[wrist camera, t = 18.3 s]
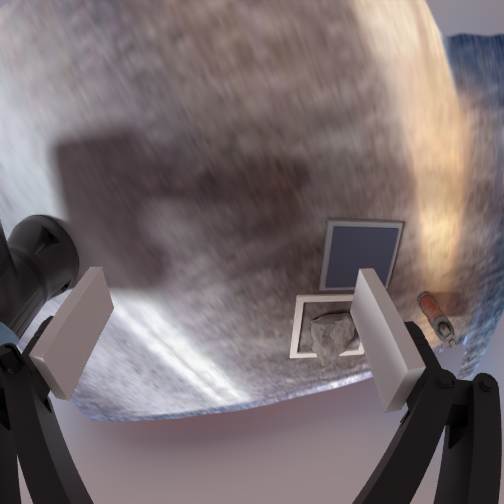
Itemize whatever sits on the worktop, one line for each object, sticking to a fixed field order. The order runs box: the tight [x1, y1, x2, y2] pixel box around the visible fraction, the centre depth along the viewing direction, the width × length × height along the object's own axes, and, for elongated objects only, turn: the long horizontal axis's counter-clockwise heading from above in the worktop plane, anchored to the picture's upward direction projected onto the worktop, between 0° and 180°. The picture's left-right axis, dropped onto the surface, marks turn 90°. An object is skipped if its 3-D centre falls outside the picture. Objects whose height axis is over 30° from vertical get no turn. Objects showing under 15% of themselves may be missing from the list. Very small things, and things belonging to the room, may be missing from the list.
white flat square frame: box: [290, 293, 364, 358], centre depth 54 cm, size 15×15×1 cm
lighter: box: [417, 291, 456, 347], centre depth 48 cm, size 8×3×10 cm, turn 44°
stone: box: [310, 313, 356, 367], centre depth 52 cm, size 10×8×6 cm
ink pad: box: [319, 218, 403, 290], centre depth 47 cm, size 12×12×1 cm
